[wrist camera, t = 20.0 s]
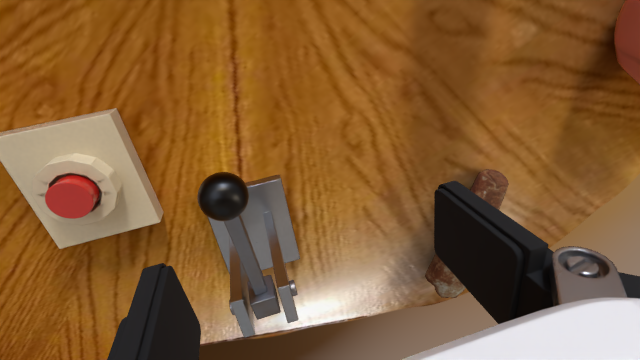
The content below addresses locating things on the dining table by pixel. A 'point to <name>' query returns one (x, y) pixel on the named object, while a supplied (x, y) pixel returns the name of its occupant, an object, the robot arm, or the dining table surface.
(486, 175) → the salami
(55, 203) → the button
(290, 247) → the bracket
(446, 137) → the dining table surface
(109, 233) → the button block
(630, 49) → the cell model
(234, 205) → the lever
